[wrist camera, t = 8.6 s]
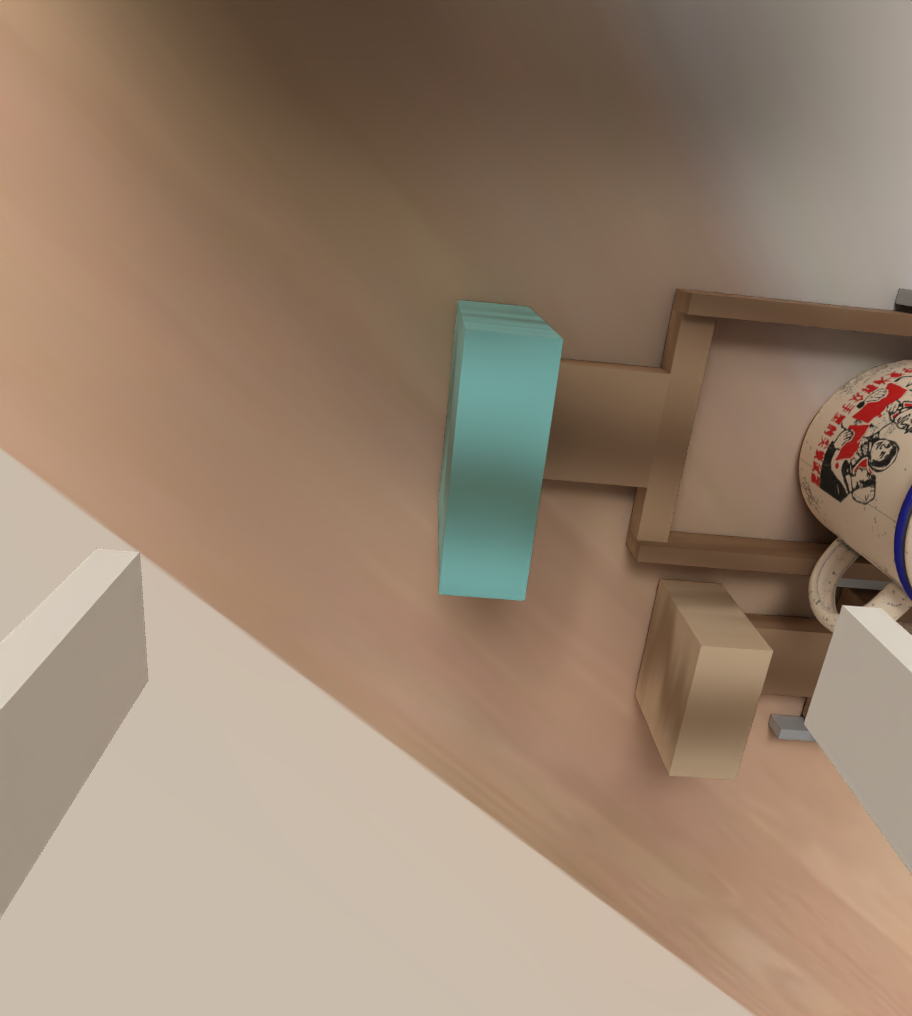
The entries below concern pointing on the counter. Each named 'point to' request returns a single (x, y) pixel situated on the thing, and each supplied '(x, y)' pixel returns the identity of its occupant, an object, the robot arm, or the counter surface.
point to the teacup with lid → (863, 486)
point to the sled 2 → (723, 672)
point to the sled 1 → (594, 438)
